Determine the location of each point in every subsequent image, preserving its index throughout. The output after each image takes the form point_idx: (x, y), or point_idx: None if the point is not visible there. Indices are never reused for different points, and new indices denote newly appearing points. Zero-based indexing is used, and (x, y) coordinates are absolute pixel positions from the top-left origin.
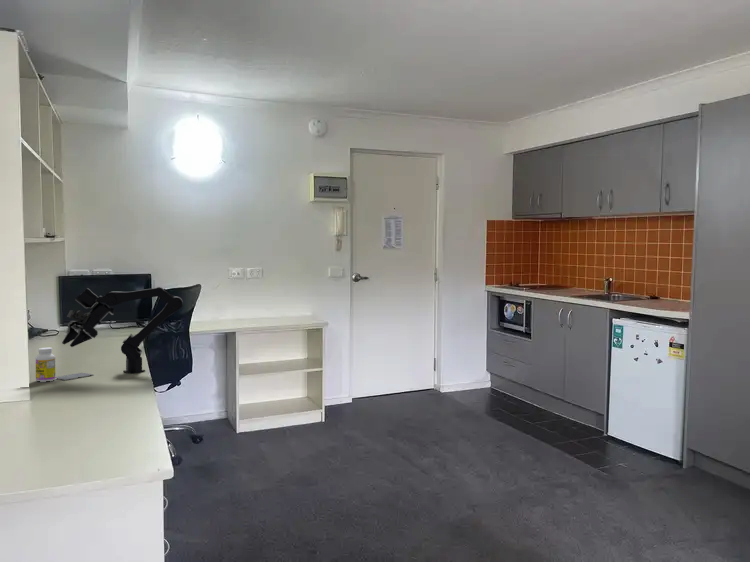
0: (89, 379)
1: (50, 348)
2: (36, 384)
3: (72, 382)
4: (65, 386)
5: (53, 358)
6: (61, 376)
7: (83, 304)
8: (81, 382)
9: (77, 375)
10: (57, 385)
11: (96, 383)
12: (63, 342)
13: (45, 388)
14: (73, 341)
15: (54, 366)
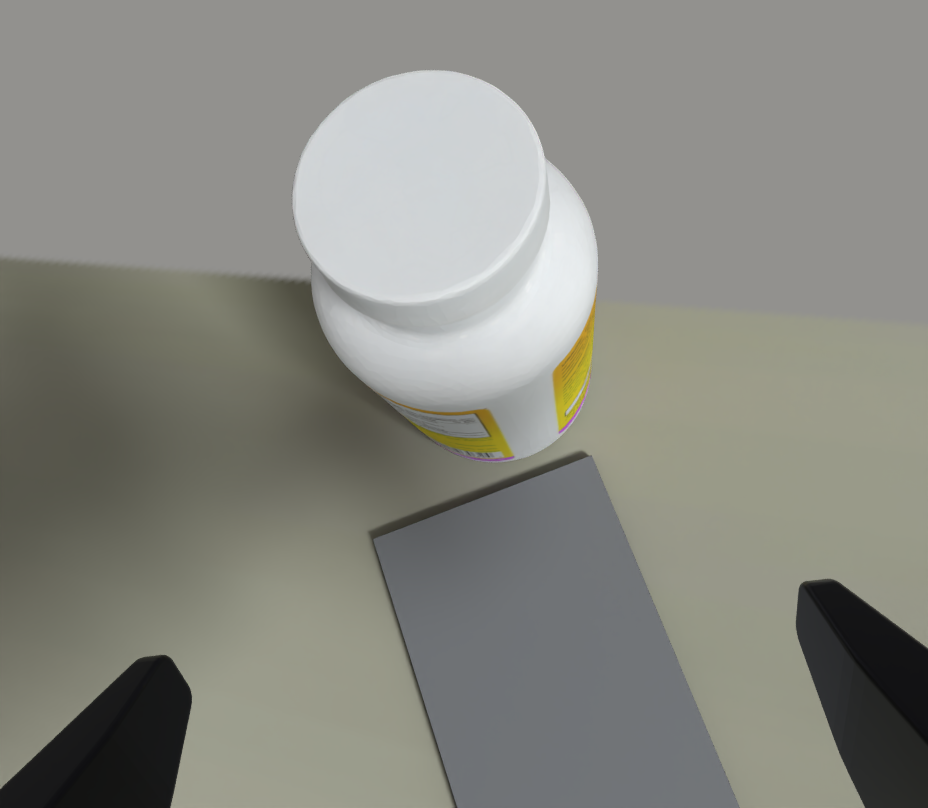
0: (284, 797)
1: (328, 262)
2: None
3: (240, 592)
4: (99, 496)
5: (354, 373)
6: (597, 546)
7: None
8: None
9: (551, 726)
10: (192, 440)
11: None
12: (810, 616)
13: (134, 334)
14: (21, 772)
15: (410, 419)
